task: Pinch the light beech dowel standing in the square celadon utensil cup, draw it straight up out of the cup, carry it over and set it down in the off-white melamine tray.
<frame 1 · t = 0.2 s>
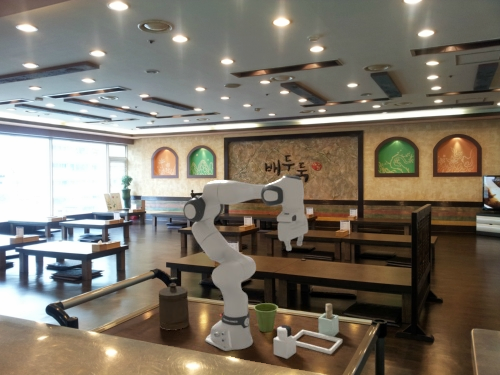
hand: (294, 247, 171), 48 cm above the table, fingers open, 8 cm apart
plant pot: (266, 329, 205), on the table
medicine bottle: (285, 354, 180), on the table
beech dowel: (329, 333, 196), point 1 cm above the table, touching celadon cup
wooden container: (174, 325, 214), on the table
melamine tray: (315, 344, 187), on the table
celadon cup: (328, 335, 196), on the table
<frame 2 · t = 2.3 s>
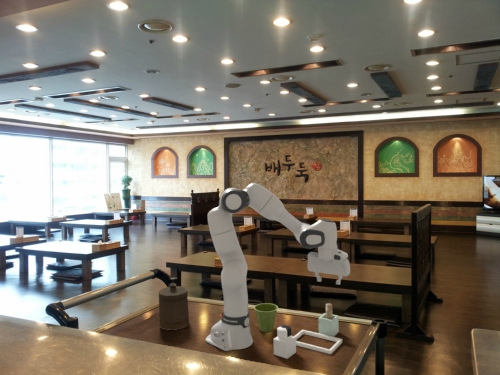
hand: (328, 282, 194), 26 cm above the table, fingers open, 8 cm apart
nothing on the table moved.
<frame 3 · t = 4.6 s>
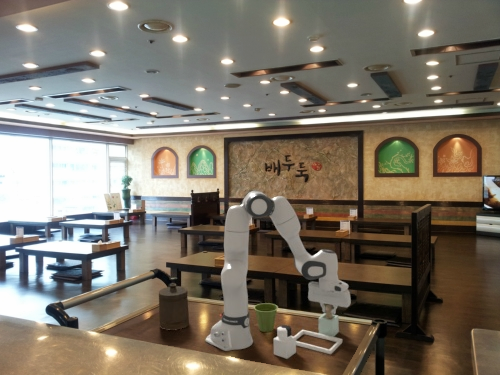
hand: (329, 312, 195), 11 cm above the table, fingers closed on beech dowel, 3 cm apart
beech dowel: (329, 333, 196), point 1 cm above the table, touching celadon cup, gripper
everything else where it was.
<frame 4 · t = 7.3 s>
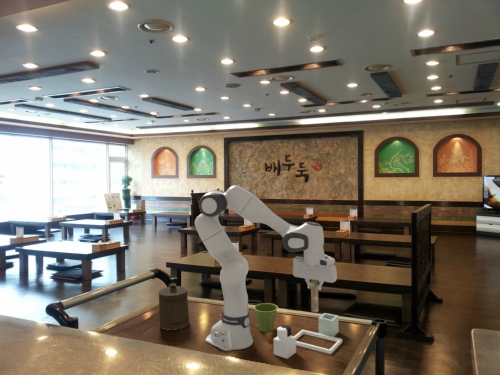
hand: (314, 289, 185), 26 cm above the table, fingers closed on beech dowel, 3 cm apart
beech dowel: (314, 311, 186), point 16 cm above the table, touching gripper
everything else where it was.
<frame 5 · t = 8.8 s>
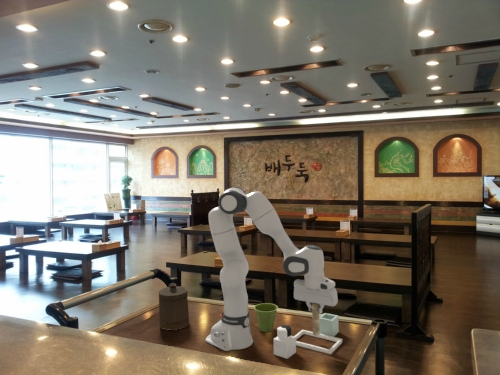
hand: (315, 311, 185), 15 cm above the table, fingers closed on beech dowel, 3 cm apart
beech dowel: (316, 333, 186), point 5 cm above the table, touching gripper
everything else where it was.
when the fingers open (12 cm above the table, at t = 10.1 s): beech dowel stays where it is, resting on melamine tray.
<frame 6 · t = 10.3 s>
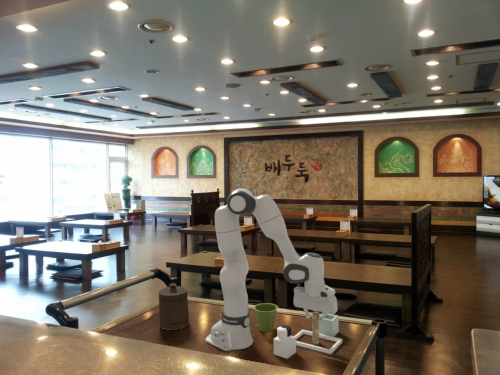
hand: (315, 319, 186), 12 cm above the table, fingers open, 5 cm apart
beech dowel: (315, 343, 187), point 1 cm above the table, touching melamine tray
everything else where it was.
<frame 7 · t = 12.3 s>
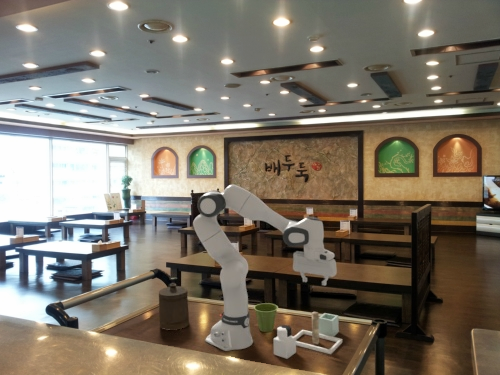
hand: (314, 283, 186), 28 cm above the table, fingers open, 8 cm apart
nothing on the table moved.
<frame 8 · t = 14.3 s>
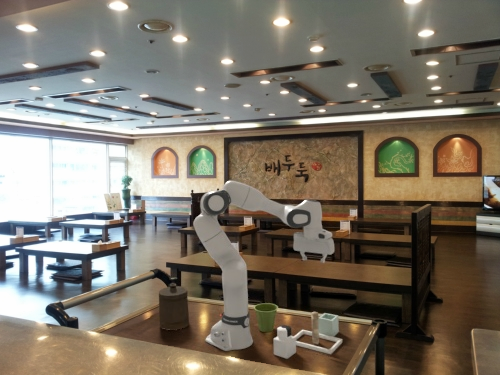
hand: (313, 261, 199), 34 cm above the table, fingers open, 8 cm apart
nothing on the table moved.
at the end: beech dowel inside the target area on the melamine tray (0.1 cm from its centre), point 0.8 cm above the melamine tray's base; the gripper is holding nothing; beech dowel touching melamine tray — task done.
